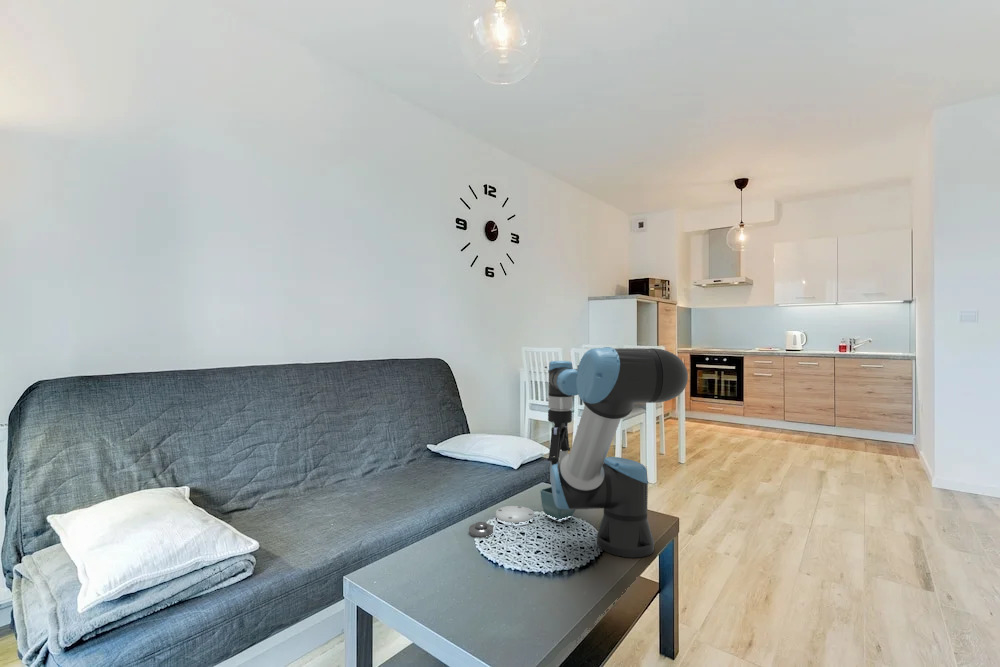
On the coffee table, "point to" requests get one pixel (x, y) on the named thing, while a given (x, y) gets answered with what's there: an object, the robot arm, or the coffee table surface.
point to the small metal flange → (480, 529)
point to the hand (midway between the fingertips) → (559, 476)
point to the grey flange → (514, 514)
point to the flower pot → (553, 505)
